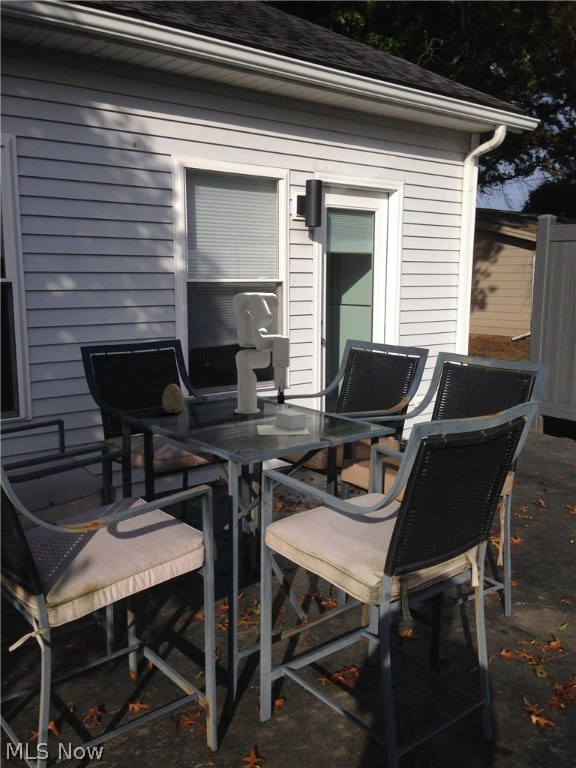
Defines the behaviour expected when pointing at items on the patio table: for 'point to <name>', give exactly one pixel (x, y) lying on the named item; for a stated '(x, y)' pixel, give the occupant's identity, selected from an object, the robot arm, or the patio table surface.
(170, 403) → the decorative egg
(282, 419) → the small box
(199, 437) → the patio table surface
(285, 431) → the mat
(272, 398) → the patio table surface
